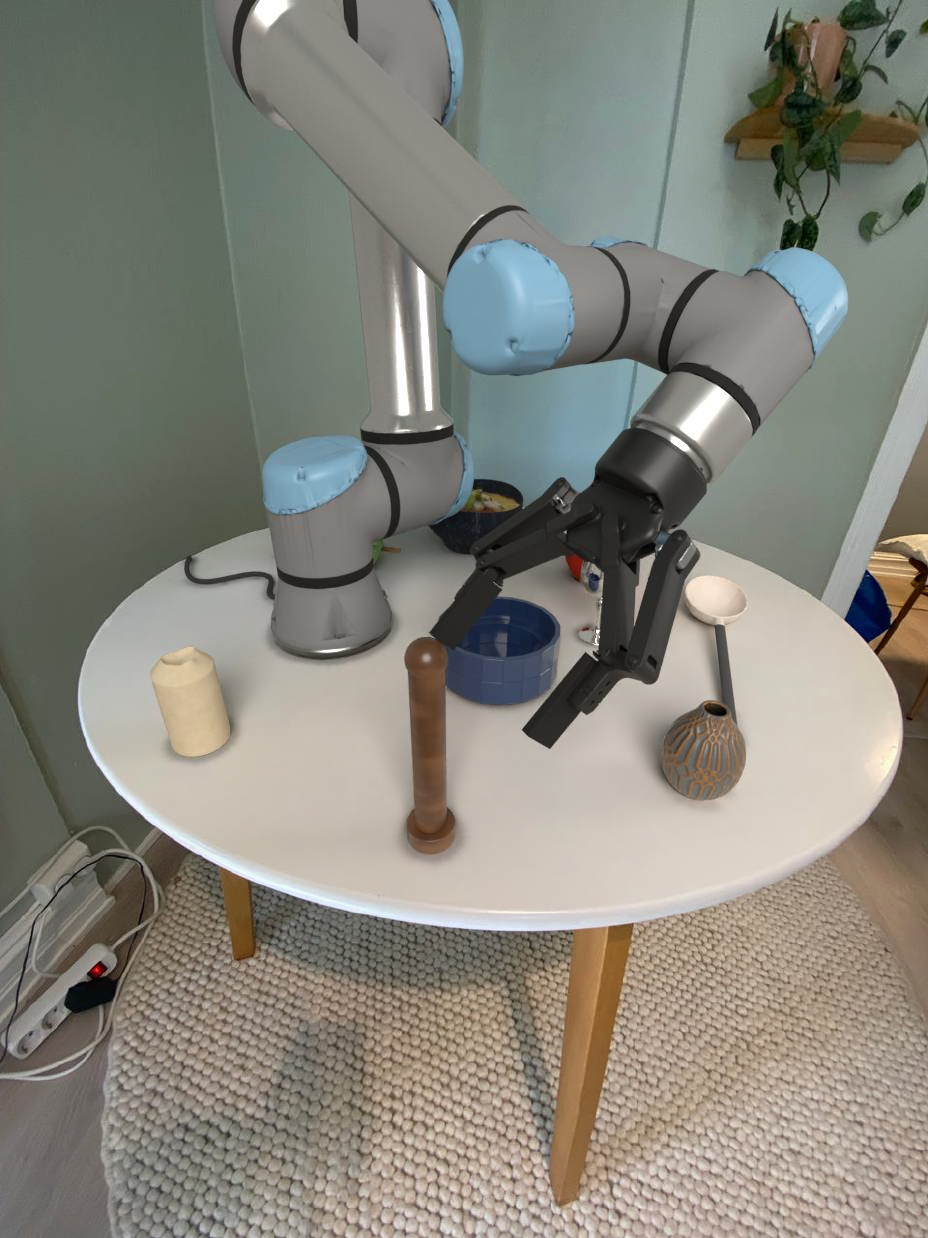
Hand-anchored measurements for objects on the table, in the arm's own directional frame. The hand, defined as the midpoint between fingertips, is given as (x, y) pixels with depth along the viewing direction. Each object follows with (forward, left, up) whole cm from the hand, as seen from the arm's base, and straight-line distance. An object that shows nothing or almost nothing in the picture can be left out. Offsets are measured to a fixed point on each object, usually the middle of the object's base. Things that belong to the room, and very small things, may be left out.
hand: (482, 685), depth 44 cm
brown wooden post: (-3, -4, -14) cm, 15 cm away
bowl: (-25, +52, -14) cm, 60 cm away
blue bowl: (-7, +20, -14) cm, 25 cm away
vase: (+16, +12, -14) cm, 25 cm away
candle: (-29, -3, -14) cm, 32 cm away
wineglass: (+2, +33, -14) cm, 36 cm away
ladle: (+16, +34, -14) cm, 41 cm away
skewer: (-42, +38, -14) cm, 58 cm away
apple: (-3, +49, -14) cm, 51 cm away
